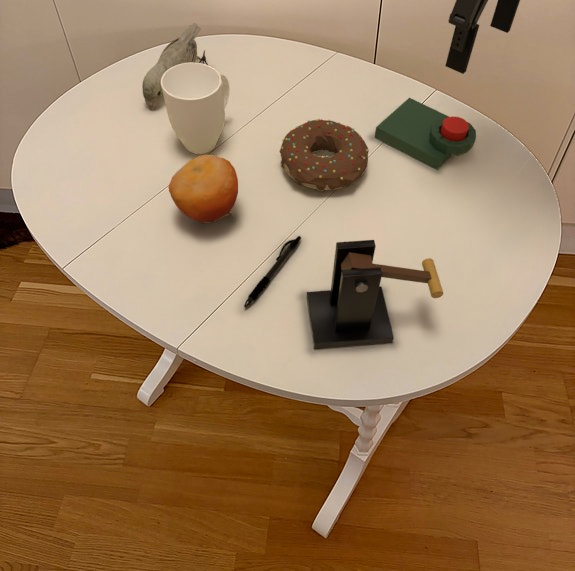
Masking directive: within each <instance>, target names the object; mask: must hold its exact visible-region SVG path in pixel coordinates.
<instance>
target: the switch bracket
mask: <svg viewBox="0 0 575 571" xmlns="http://www.w3.org/2000/svg"><path fill="white" fill-rule="evenodd" d="M376 247H377V246H376V241H375V239H366V240H365V239H364V240H350V241H349V240H348V241H338V242H336V243H335V249H334V250H335V251H334V260H333V266H332V267H333V269H332V275H331V276H332V277H331V285H330V289H328V290H315V291H306V303H307V310H308V316H309V325H310V330H311V338H312V345H313V349H314V350H319V349H331V348H343V347H355V346H368V345H379V344H393V341H394V338H395V337H394V332H393V329H392V325H391V320H390V316H389V312H388V309H387V303H386V299H385V296H384V290H383V287H382V285H381V282H382V278H383V277H382V271H381V267H378V268H365V269H351V270H342V268H341V264H342V262H343V261H344V259H345V258H346V256H347V255H348V253H349V252H350V253H357V254H364V255H370V256H371V259H372V263H374V262H373V261H374V256H375V251H376Z"/></svg>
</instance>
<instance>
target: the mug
mask: <svg viewBox="0 0 575 571" xmlns="http://www.w3.org/2000/svg"><path fill="white" fill-rule="evenodd" d="M161 87H162V91H163V95H162V96H163V99H164V104H165V108H166V113H167V116H168V120H169V123H170V126H171V129H172V130H173V132H174V134H175V135H176V136H177V138H178V139H179V140H180V142H181V144H182V145H183V146H184V148H185V149H186V150H187V151H188V152H190V153H191V154H195V155H206V154H208V153H210V152H212V151H213V150H214V149H215V148H216V145H217V143H218V141H219V138H220V137H221V135H222V132H223V130H224V126H225V123H226V122H225V121H226V107H227V104H228V102H229V97H230V89H231V88H230V82H229V80H228V78H227V76H226V75H225V74H224V73H222V72H220V71H218V70H217V69H216V68H214V67H212V66H210V65H209V64H208V65H207V64H206V63H204V64H202V62H200V63H199V62H195V63H194V62H191V63H182V64H178V65H176V66H173V67H171V68H170V69H168V70H167V71H166V72H165V73H164V74H163V76H162V78H161Z"/></svg>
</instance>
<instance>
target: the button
mask: <svg viewBox="0 0 575 571" xmlns="http://www.w3.org/2000/svg"><path fill="white" fill-rule="evenodd" d="M467 122H468V121H467V120H466V119H464V118H462V117H460V116H453V115H452V116H449V117H448V118H446V119H445V120H444V121H443V124H442V127H441V131H440V132H441V135H442V137H443V138H445V139H448V140H450V141H457V142H458V141H462V140H464V139H465V137H466V135H467V132H468V128H469V125H468V123H469V122H468V123H467Z"/></svg>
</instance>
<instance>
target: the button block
mask: <svg viewBox="0 0 575 571" xmlns="http://www.w3.org/2000/svg"><path fill="white" fill-rule="evenodd" d="M448 117H450V116H449V115H447V114H445V113H443V112H441V111H439V110H437V109H435V108H433V107H430V106H428V105H426V104H424V103H421V102H420V101H418V100H415V99H413V98H411V97H408V98H406V100H405V101H404V102H403V103H401V105H399V106H398V107H397V108H396V109H394V110H393V112H391V113H389V115H388V116H387V117H385V118H384V119H383V120H382V121H381V122H380V123H379V124H378V125H377V126H375V131H374V137H373V138H374V139H376V140H378V141H381V142H382V143H383V144H386V145H387V146H389V147H391V148H394V149H395V150H397V151H400V152H401V153H403V154H405V155H407V156H409V157H411V158H413V159H414V160H416V161H418V162H421V163H423V164H424V165H427V167H430V168H432V169H434V170H436V171H438V170H439V169H440V168H441V167H442V166H443V165H444V164H445V163H446V162H447V161H448V160H449V159H450V158H451V157H452V156H461V155H464V154H468V153H470V151H471V150H472V149H473V148H474V145H475V143H476V141H477V129H476V128H475V127H474V126H473V125H472V124H471V122H469V121H467V123H468V125H469V128H468V132H467V135H466V137H465V139H464V140H462V141H458V142H457V141H450V140H448V139H445V138H443V137H442V135H441V132H440V131H441V127H442V124H443V121H444V120H445V119H446V118H448Z"/></svg>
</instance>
